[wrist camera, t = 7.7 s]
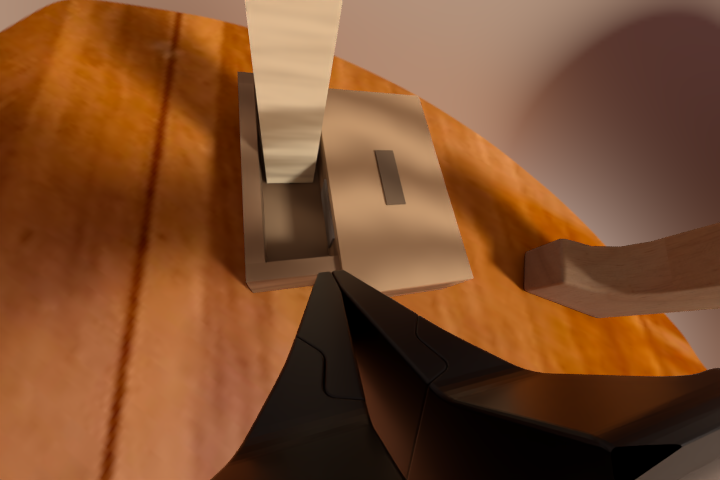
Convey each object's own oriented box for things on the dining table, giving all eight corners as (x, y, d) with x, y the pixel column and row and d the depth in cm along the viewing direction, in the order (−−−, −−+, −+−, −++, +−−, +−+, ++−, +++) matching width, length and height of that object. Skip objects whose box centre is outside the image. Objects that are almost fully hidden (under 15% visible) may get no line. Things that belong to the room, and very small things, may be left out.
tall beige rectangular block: (312, 182, 25) (368, -160, 8) (267, 183, 24) (218, -215, 7) (307, 137, 27) (343, -230, 10) (263, 136, 25) (217, -283, 8)
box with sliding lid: (442, 289, 25) (474, 277, 21) (254, 316, 20) (245, 310, 16) (397, 117, 31) (415, 81, 27) (244, 109, 26) (236, 63, 22)
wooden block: (521, 291, 27) (878, 214, 11) (523, 251, 29) (831, 132, 13) (596, 319, 28) (1024, 287, 12) (593, 278, 30) (960, 203, 14)
